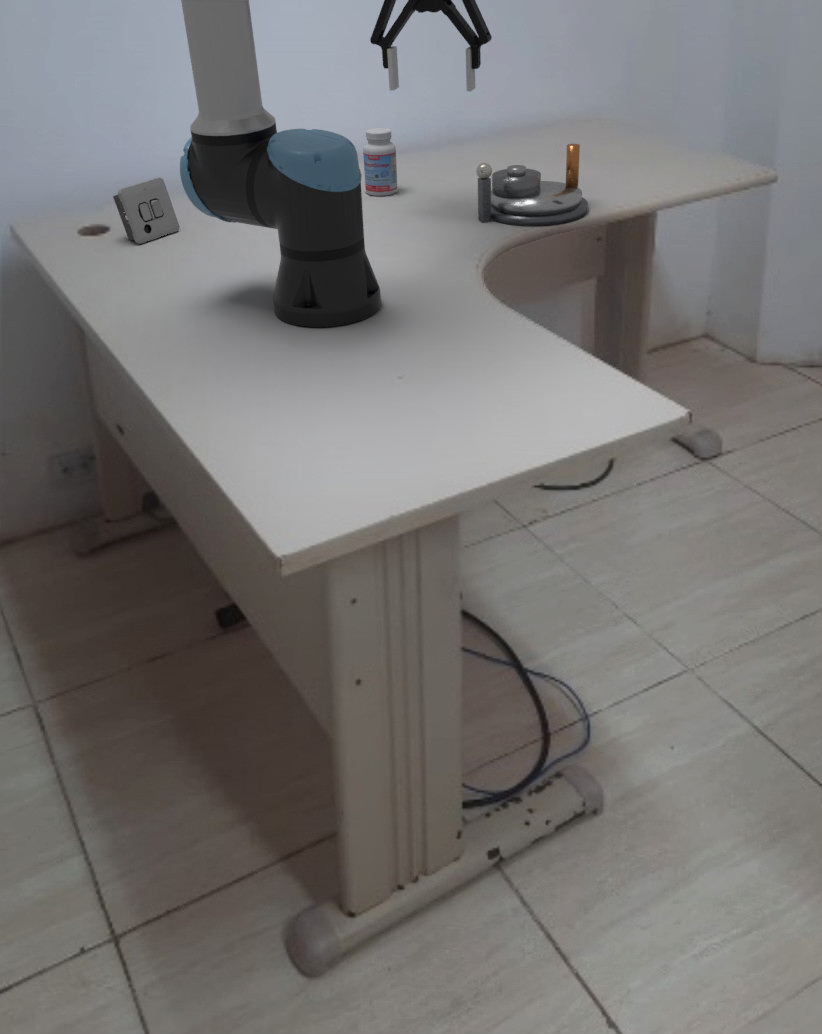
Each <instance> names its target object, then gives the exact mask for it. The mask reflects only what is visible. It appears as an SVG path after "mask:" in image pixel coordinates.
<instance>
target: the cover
mask: <svg viewBox="0 0 822 1034" xmlns="http://www.w3.org/2000/svg"><path fill="white" fill-rule="evenodd" d="M541 178H542V174H541V172H540V171H539V170H537V169H533V168H532V169H531V168H527V167H526V166H525V165H521V164H512V165H508V166H507V167H506V168H505V169H500V170H497V171H495V172H492V174H491V191H492V193H493V195H495V196H497V197H501V198H510V199H518V198H528V197H533V196H536V195H538V194H539V193H540V191H541V181H542V179H541Z"/></svg>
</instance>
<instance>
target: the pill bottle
mask: <svg viewBox="0 0 822 1034" xmlns="http://www.w3.org/2000/svg"><path fill="white" fill-rule="evenodd" d="M392 136H393V135H392V130H391V129H390V128H386V127H376V128H375V127H374V128H369V129H367V130H365V138H366V141H367V142H366V143H365V144H364V146H363V151H362V152H363V153H362V154H363V164H364V165H363V169H364V185H365V192H366V193H367V194H368V195H369V196H373V197H385V196H390V195H394V194H395V193H396V192H397V191H398V174H397V170H398V168H397V151H396V145H395V144H394V143H393V142H392V141H391V140H392Z"/></svg>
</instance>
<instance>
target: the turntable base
mask: <svg viewBox="0 0 822 1034" xmlns="http://www.w3.org/2000/svg"><path fill="white" fill-rule="evenodd" d="M588 208H589V207H588V200H587V199H586V198H585V197H583V196H582V203H581V205H580V206H578V207H577V208H575V209H573V210H570V211H566V212H562V213H557V214H550V215H516V214H509V213H504V212H501V211H498V210H495V209H494V208H492V207H491V221H493V222H495V221H496V223H501V224H504V225H508V224H509V226H516V227H517V226H519V227H547V226H548V227H549V226H556V225H562V224H568V223H571V222H574V221H577V220H580V219H582V218H583V217H584V216H585V215H586V214H587V213H588Z"/></svg>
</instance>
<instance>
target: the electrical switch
mask: <svg viewBox="0 0 822 1034" xmlns="http://www.w3.org/2000/svg"><path fill="white" fill-rule="evenodd" d="M112 198H113V200H114V204H115V206H116V208H117V211H118V214H119V217H120V220H121V222H122V225H123V228H124V231H125V233H126V237H127V238H128V241H129V240H132V241H134V242H135V243H136V244H137V245H141V244H145V243H147V241H148V242H151V241H153V240H156V239H158V238H161V236H162V237H165V236H167V234H168V235H170V233H171V234H173V233H175V232H178V231H179V230H180V224H179V222H178V218H177V215H176V212H175V209H174V207H173V203H172V201H171V197H170V195H169V191H168V189H167V186H166V183H165V181H164V178H162V177H156V178H152V179H149V180H144V181H141V182H138V183H134V184H132V185H129V186H125V187H123V188H122V187H121V188H119V189H118V192H117V194H115V195H113V197H112ZM164 235H165V236H164Z"/></svg>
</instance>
